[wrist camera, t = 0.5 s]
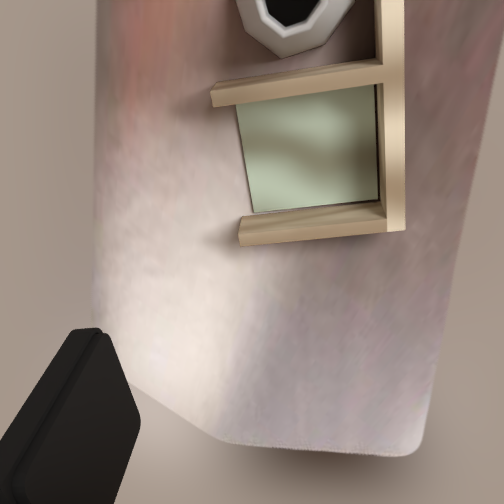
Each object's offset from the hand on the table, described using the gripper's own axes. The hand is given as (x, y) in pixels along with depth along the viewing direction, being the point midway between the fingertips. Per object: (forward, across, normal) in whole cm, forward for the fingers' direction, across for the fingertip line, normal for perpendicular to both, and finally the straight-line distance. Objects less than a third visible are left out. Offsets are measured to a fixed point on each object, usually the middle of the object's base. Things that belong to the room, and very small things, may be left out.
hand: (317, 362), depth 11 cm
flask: (+25, 0, -7) cm, 26 cm away
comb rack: (+25, 0, -2) cm, 25 cm away
